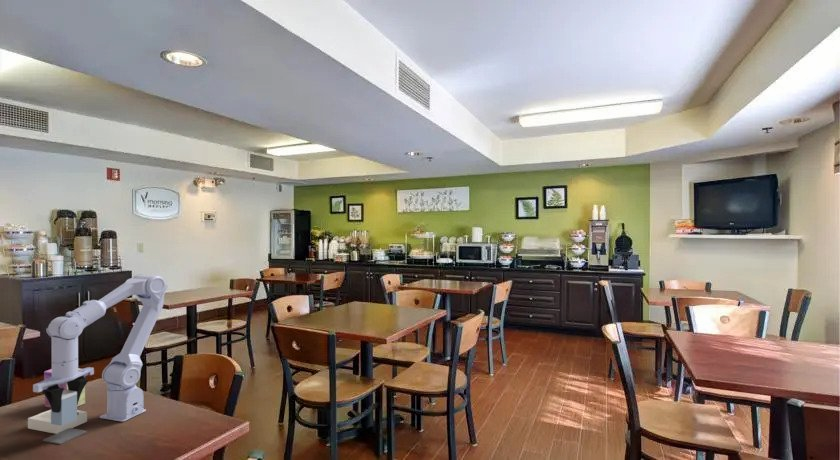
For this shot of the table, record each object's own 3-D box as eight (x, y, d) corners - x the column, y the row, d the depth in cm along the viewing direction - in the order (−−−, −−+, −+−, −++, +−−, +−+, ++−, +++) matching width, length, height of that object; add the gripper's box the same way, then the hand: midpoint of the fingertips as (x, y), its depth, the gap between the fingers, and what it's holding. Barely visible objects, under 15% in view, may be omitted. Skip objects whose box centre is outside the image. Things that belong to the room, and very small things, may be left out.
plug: (76, 419, 120) (77, 391, 120) (61, 425, 116) (61, 396, 116) (66, 417, 121) (66, 389, 121) (51, 423, 117) (51, 395, 117)
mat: (86, 432, 121) (86, 430, 121) (60, 444, 114) (60, 443, 114) (70, 429, 123) (70, 427, 123) (43, 441, 116) (43, 439, 116)
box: (43, 407, 138) (43, 370, 138) (63, 400, 143) (62, 365, 143) (66, 411, 135) (66, 374, 135) (85, 404, 140) (85, 368, 140)
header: (87, 421, 128) (86, 409, 128) (58, 434, 120) (58, 421, 120) (57, 416, 131) (57, 404, 131) (27, 428, 123) (27, 416, 123)
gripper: (81, 351, 126) (81, 396, 127) (24, 366, 112) (24, 417, 113) (99, 353, 125) (99, 399, 125) (43, 369, 111) (44, 421, 111)
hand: (65, 408), depth 118 cm, fingers closed on plug, 4 cm apart
